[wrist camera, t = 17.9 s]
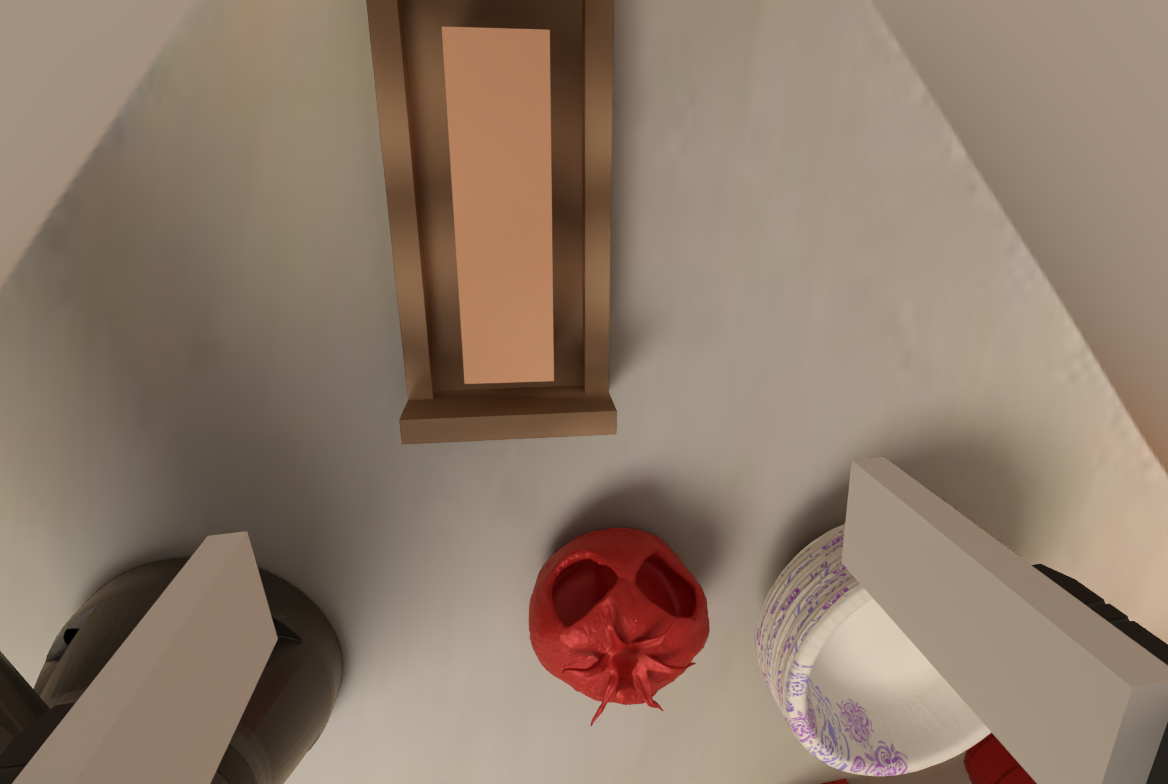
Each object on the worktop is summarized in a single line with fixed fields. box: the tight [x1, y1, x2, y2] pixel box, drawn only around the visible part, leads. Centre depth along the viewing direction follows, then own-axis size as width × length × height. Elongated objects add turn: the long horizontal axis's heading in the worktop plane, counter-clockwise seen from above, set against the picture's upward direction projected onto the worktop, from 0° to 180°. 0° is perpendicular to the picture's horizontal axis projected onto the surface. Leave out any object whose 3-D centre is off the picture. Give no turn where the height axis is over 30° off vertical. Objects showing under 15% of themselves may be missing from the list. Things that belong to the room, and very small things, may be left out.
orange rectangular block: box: [442, 27, 554, 384], centre depth 27 cm, size 14×4×4 cm, turn 179°
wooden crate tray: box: [366, 0, 617, 444], centre depth 28 cm, size 20×10×5 cm, turn 179°
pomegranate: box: [529, 528, 709, 726], centre depth 34 cm, size 10×10×9 cm
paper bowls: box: [755, 523, 991, 776], centre depth 37 cm, size 15×15×8 cm
